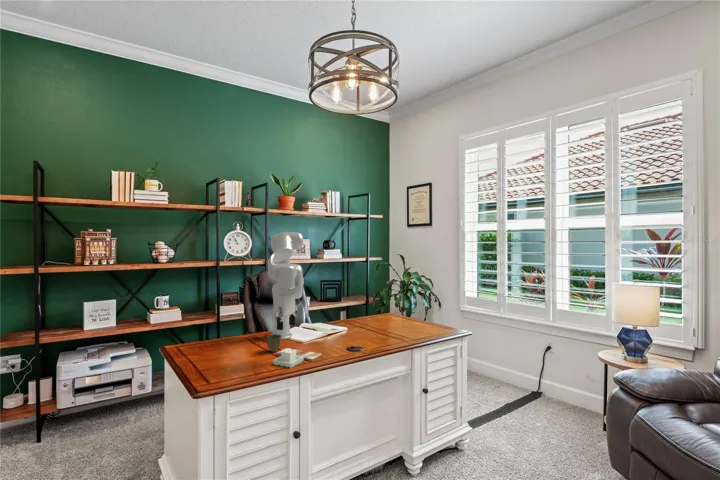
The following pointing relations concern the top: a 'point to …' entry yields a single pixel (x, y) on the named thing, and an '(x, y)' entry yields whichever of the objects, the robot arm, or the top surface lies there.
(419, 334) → the top surface
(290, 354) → the block
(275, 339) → the dark bronze flared dome
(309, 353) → the track
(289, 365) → the tray
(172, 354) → the top surface
